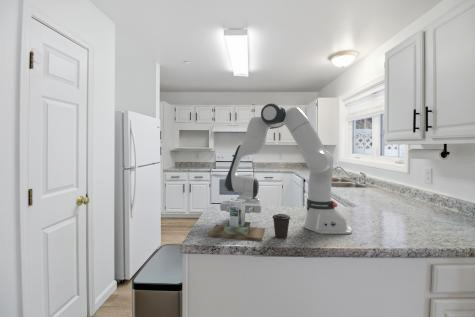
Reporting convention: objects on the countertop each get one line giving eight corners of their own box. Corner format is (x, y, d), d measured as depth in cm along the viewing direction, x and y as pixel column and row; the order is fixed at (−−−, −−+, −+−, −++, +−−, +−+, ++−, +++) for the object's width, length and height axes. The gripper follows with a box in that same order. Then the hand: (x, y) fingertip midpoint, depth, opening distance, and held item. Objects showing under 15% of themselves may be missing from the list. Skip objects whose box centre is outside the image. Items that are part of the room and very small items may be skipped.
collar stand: (264, 230, 130) (264, 221, 130) (261, 240, 116) (261, 231, 116) (216, 227, 134) (216, 218, 134) (208, 236, 121) (208, 227, 120)
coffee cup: (276, 240, 116) (276, 218, 116) (269, 234, 124) (269, 213, 123) (293, 238, 119) (293, 216, 118) (285, 232, 126) (285, 212, 126)
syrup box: (228, 231, 124) (229, 200, 123) (234, 228, 129) (234, 198, 128) (240, 233, 121) (240, 201, 120) (245, 229, 127) (245, 199, 126)
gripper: (223, 197, 141) (216, 202, 127) (262, 198, 137) (259, 205, 123) (223, 208, 141) (216, 216, 127) (262, 211, 137) (259, 218, 124)
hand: (238, 210), depth 125 cm, fingers open, 8 cm apart
